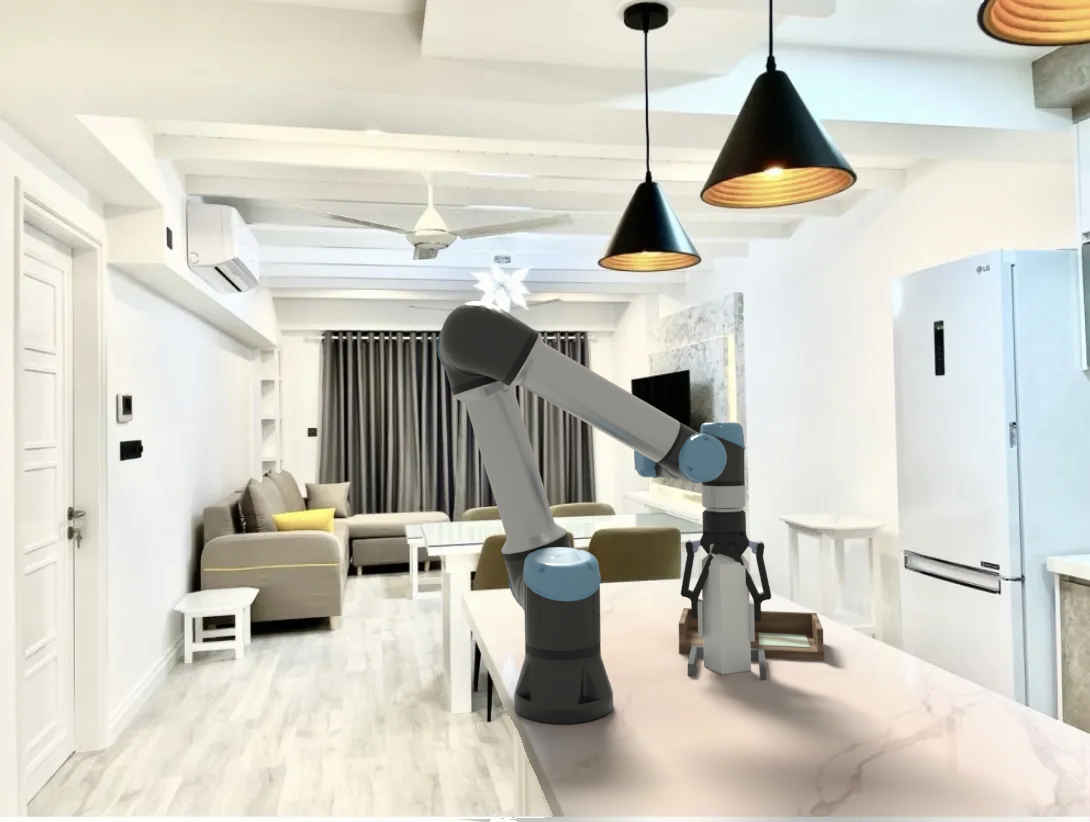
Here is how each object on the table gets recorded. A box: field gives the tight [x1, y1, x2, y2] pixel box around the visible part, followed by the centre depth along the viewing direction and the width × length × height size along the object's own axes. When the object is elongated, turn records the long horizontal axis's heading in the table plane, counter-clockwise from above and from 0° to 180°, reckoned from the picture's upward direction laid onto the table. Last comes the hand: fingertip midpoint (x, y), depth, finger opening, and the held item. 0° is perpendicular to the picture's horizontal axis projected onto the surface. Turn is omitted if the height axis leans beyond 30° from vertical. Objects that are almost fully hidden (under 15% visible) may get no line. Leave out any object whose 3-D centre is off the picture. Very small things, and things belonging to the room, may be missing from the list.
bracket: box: [687, 645, 767, 681], centre depth 142 cm, size 12×13×2 cm
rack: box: [678, 607, 825, 662], centre depth 155 cm, size 14×26×6 cm, turn 76°
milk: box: [701, 544, 752, 675], centre depth 142 cm, size 6×6×22 cm
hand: (726, 638), depth 141 cm, fingers closed on milk, 8 cm apart
